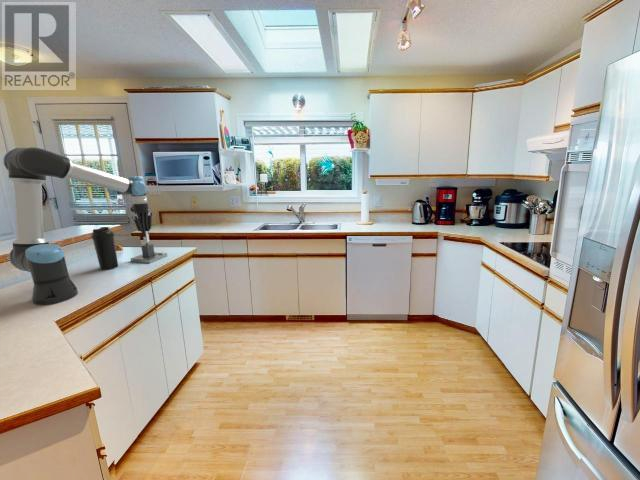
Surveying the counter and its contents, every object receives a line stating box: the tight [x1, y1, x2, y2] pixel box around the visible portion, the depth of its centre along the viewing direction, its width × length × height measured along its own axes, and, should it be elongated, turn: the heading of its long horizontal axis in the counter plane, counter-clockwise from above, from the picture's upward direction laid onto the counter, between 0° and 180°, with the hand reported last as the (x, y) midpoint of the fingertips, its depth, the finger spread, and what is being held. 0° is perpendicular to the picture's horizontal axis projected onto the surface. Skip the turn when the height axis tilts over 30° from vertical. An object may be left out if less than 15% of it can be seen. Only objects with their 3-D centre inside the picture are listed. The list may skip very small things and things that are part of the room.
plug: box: [140, 242, 155, 258], centre depth 183 cm, size 4×4×10 cm
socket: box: [130, 251, 168, 264], centre depth 184 cm, size 14×14×3 cm
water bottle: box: [91, 226, 119, 271], centre depth 167 cm, size 10×10×23 cm
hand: (146, 241), depth 181 cm, fingers closed
